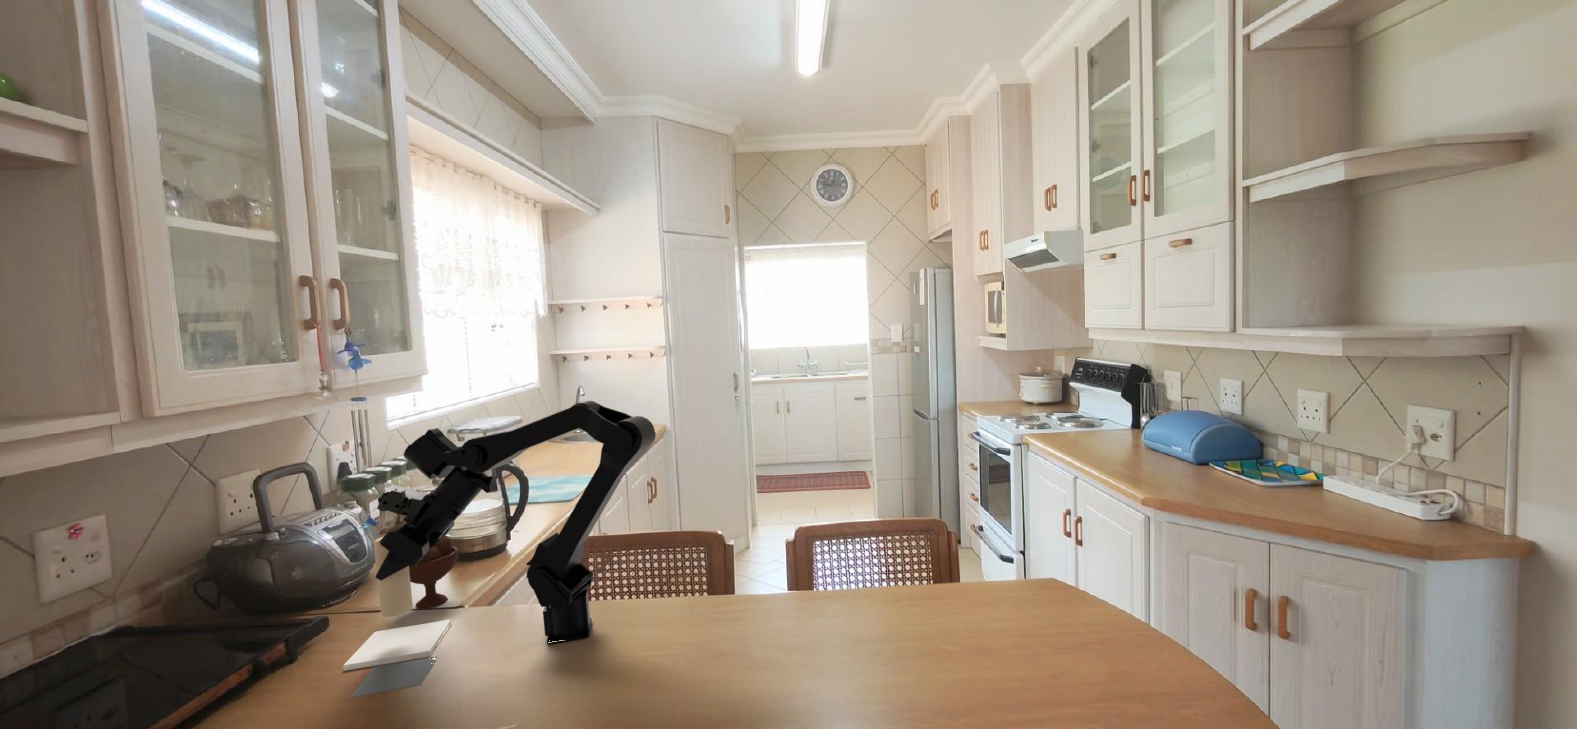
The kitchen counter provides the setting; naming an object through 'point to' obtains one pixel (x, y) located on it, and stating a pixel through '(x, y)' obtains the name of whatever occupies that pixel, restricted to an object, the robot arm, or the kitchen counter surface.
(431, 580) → the ice cream bowl
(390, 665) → the mat
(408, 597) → the tan tapered rounded piece
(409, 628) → the cutting board
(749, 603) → the kitchen counter surface
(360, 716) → the kitchen counter surface
